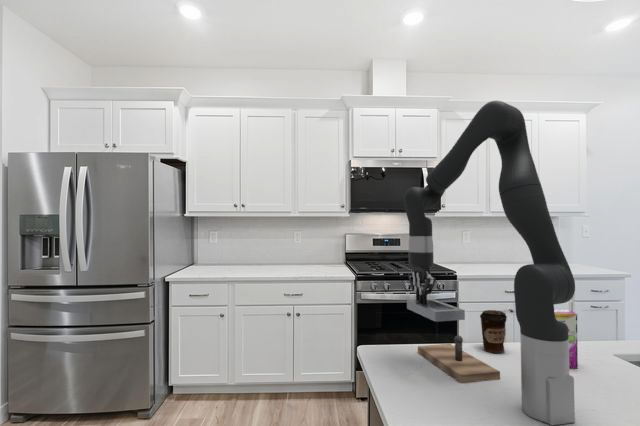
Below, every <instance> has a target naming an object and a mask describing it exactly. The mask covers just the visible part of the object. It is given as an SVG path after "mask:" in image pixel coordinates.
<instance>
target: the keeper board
mask: <svg viewBox="0 0 640 426" xmlns="http://www.w3.org/2000/svg"><path fill="white" fill-rule="evenodd" d="M453 341H454V345H453V344H451V343H445V344H428V345H418V346H417V353H418V354H420V355H421V356H422V357H424V358H425V359H427V360H428V361H430V362H431V363H432V364H433V365H435V366H436V367H438V368H439V369H440V370H443V372H445V373H446V374H447V375H450V377H452V378H454V379H455V381H458V382H459V383H461V384H463V383H464V384H465V383H472V382H484V381H494V380H501V371H500V370H498V369H496V368H494V367H492V366H491V365H489V364H487V363H485V362H483V361H482V360H480V359H478V358H477V357H474V356H473V355H471V354H469V353H467V352H465V351H463V341H464V339H463V337H462V336H461V335H456V336H454V340H453Z"/></svg>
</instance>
